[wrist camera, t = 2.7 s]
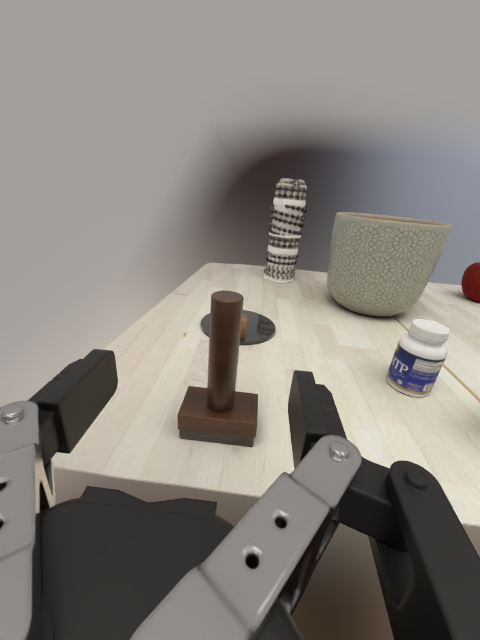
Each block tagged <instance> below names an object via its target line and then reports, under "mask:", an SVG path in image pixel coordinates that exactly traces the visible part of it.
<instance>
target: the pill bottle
mask: <svg viewBox="0 0 480 640" xmlns="http://www.w3.org/2000/svg"><path fill="white" fill-rule="evenodd" d="M449 333H450V330H449V328H447V327H446V326H444V325H442V324H440V323H438V322H435V321H431V320H426V319H415V320H413V321H412V323H411V326H410V329H409V334H405V335H403V336H402V337H401V338H400V340H399V342H398V345H397V348H396V351H395V353H394V356H393V359H392V362H391V365H390V367H389V370H388V373H387V381H388V383H389V384H390V385H391V386H392V387H393V388H394V389H396V390H398V391H399V392H401V393H404V394H406V395H409V396H414V397H424V396H427V395H428V394H429V393H430V391H431V389H432V387H433V385H434V383H435V380H436V378H437V376H438V374H439V371H440V369H441V367H442V365H443V363H444V361H445V358H446V356H447V349H446V347H445V345H444V344H443V343H445V342H446V340H447V338H448V336H449Z"/></svg>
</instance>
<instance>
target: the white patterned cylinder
mask: <svg viewBox="0 0 480 640" xmlns="http://www.w3.org/2000/svg"><path fill="white" fill-rule="evenodd" d="M306 191H307V187H306V185H305V182H304V181H303V180H299V179H286V178H284V179H281V180H280V181H279V183H278V184H277V185H276V193H275V195H276V196H275V198H274V203H273V204H275V205H274V206H273V207H271V209H270V210H271V211H272V212H273V213H271V214H270V217H271V218H272V221H271V222H270V223H269V225H270V226H271V227H270V229H269V234H270V236H271V237H270V244H269V245H268V252H266V254H267V255H268V257H267V258H266V261H267V263H266V264H265V268H266V269H265V270H264V272H265V275H264V278H265V279H267V280H269V281H273V282H278V283H290V282H293V281H294V278H293V277H294V276H295V272H294V271H295V270H296V267H295V266H294V264H296V263H297V261H296V260H295V259H296V258H297V257H298V255H297V251H298V248H297V247H298V241H299V238H300V237H301V234H302V233H301V232H300V227H301V228H302V227H303V226H304V225H303V224H302V223H301V221H304V220H305V218H304V217H302V214H303V213H306V212H307V211H306V209H304V208H303V207H306V206H305V202H306V201H305V197H306Z"/></svg>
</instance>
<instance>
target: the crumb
mask: <svg viewBox="0 0 480 640" xmlns="http://www.w3.org/2000/svg"><path fill="white" fill-rule="evenodd" d="M247 317H248V314H247V313H242V321H241V332H240V337H241V338H245V335H246V327H247Z"/></svg>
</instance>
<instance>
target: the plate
mask: <svg viewBox="0 0 480 640" xmlns="http://www.w3.org/2000/svg"><path fill="white" fill-rule="evenodd" d="M242 313H247V314H248V317H247V327H246V335H245V338H241V337H240V343H239V345H250V344H257V343H262V342H264V341H267V340H269V339H270V338H272V337H273V335H274V334H275V325H274V323H273V322H272V321H271V320H270V319H268V318H267V317H265V316H263V315H260V314H258V313H255V312H251V311H245V310H242ZM210 315H211V313H209V314H207V315H206V316H205V317H203V319H202V320H201V329H202V331H203V332H204V333H205V334H206V335H208V336H209V337H210Z"/></svg>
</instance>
